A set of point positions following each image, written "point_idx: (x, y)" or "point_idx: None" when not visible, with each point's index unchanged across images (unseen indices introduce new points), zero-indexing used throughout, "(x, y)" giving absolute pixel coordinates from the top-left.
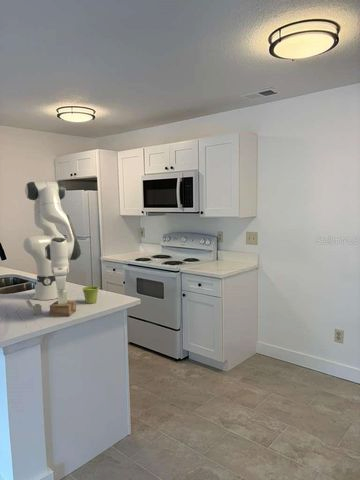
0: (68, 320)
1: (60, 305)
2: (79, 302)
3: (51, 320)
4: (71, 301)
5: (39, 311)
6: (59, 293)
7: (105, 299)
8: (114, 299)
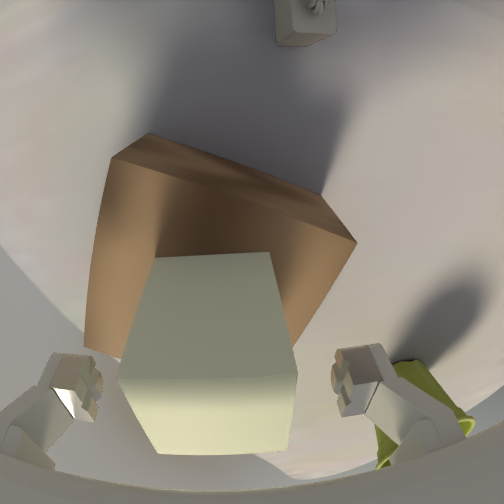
0: (37, 278)
1: (97, 283)
2: (440, 327)
3: (43, 162)
4: None
5: (279, 23)
6: (19, 397)
7: None
8: (372, 440)
